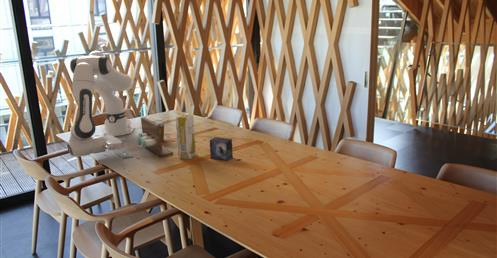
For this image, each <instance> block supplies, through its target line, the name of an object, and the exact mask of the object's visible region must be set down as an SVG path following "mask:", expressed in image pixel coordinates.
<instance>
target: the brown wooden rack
mask: <svg viewBox="0 0 497 258" xmlns="http://www.w3.org/2000/svg"><path fill="white" fill-rule="evenodd" d="M153 121H154V120H151V119H149V118H147V117H145V116H144V117H140V123H141V132H142V133H141V134H143V133H147V136H151V137H152V139H154V138H156V140H157V145H153V146H148V147H146V148H144V150H147V151H148V152H149V153H151V154H153V155H154V156H155V157H158V158H159V159H160V158H165V157H169V156H173V155H174V152H173V151H172V150H170V149H168V148H166V147H165V146H163V141H161V129H160V125H159V124H157V123H155V122H153Z"/></svg>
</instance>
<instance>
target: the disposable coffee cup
mask: <svg viewBox="0 0 497 258" xmlns="http://www.w3.org/2000/svg"><path fill="white" fill-rule="evenodd" d="M152 121H153V122H155V123H157V124H159V125H160V129H161V141H162V142H164V141H165V137H164V136H165V125H166V123H165V121H164V120H160V119H158V120H152Z"/></svg>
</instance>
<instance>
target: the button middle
mask: <svg viewBox="0 0 497 258" xmlns="http://www.w3.org/2000/svg"><path fill="white" fill-rule="evenodd" d="M149 139H152V137H151V136H145V137H139V136H138V137H136V142H137V145H138V146H142V140H149Z"/></svg>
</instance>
